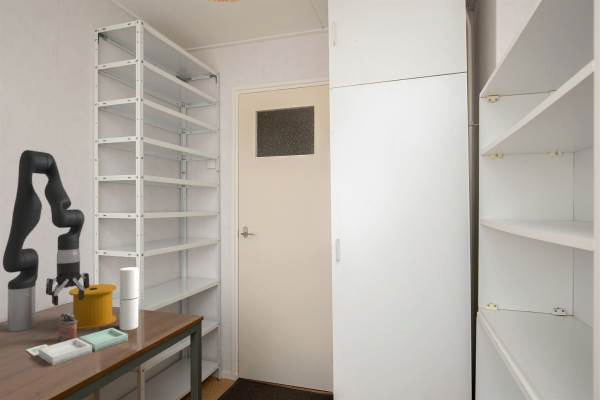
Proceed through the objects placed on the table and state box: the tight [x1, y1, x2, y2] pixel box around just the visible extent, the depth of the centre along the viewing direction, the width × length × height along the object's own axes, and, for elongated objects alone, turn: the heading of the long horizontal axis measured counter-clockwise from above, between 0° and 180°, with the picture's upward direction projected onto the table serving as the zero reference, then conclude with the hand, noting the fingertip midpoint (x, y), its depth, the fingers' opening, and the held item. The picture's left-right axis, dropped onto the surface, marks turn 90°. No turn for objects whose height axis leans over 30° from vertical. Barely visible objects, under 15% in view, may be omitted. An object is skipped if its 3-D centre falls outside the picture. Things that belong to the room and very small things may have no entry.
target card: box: [25, 343, 49, 357], centre depth 125 cm, size 8×6×1 cm
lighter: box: [57, 312, 78, 342], centre depth 135 cm, size 8×3×10 cm, turn 71°
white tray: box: [38, 337, 93, 366], centre depth 122 cm, size 12×12×2 cm
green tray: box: [79, 327, 129, 352], centre depth 132 cm, size 12×12×2 cm
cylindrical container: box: [119, 266, 140, 331], centre depth 148 cm, size 7×7×25 cm
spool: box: [68, 283, 117, 330], centre depth 154 cm, size 18×18×15 cm
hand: (68, 302), depth 135 cm, fingers open, 8 cm apart
